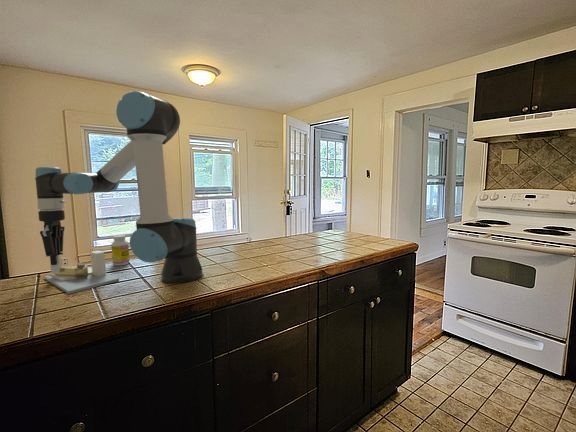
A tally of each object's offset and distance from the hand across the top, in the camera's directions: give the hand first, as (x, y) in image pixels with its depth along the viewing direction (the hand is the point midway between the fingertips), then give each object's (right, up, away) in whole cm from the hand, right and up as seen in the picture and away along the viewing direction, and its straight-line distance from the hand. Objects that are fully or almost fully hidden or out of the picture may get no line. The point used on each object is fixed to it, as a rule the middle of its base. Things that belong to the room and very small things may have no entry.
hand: (56, 272), depth 112 cm
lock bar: (+4, -1, +2) cm, 5 cm away
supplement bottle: (+12, -1, +23) cm, 26 cm away
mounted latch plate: (+8, -3, +2) cm, 9 cm away
